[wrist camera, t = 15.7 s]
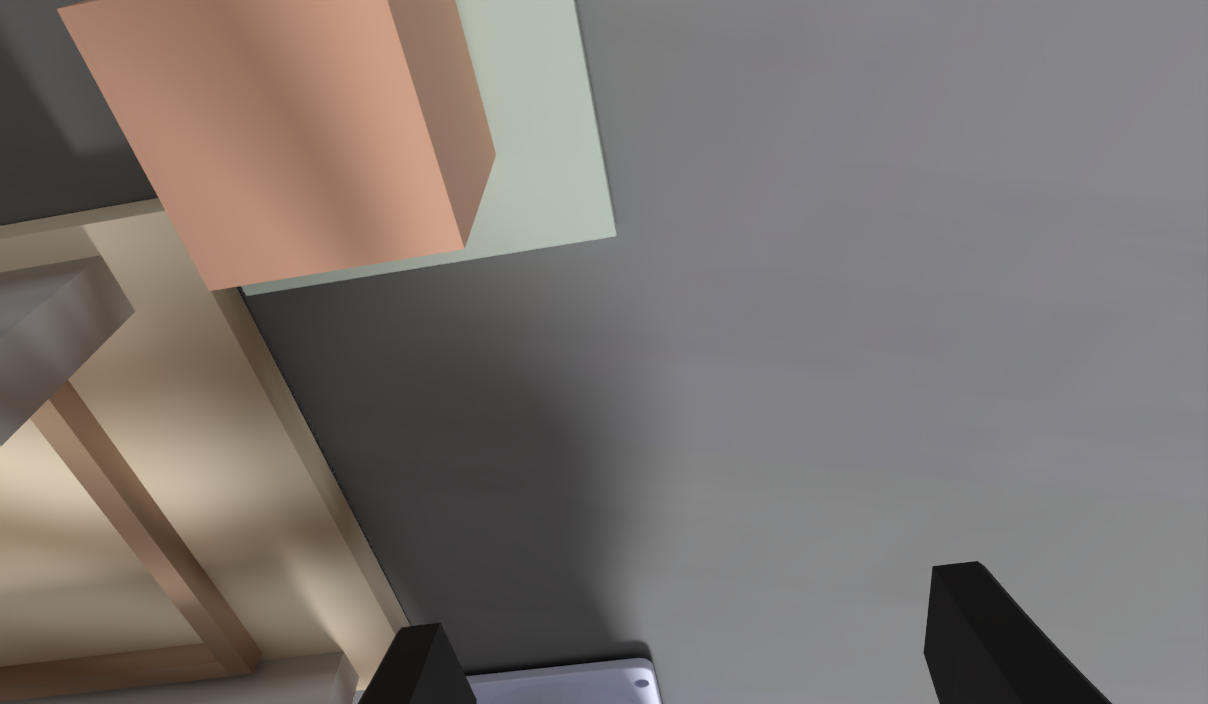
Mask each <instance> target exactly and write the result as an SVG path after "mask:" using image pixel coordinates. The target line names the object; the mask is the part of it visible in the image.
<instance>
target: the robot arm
mask: <svg viewBox="0 0 1208 704" xmlns="http://www.w3.org/2000/svg"><path fill="white" fill-rule="evenodd" d="M924 655H925V659H926V662H927V665H928V668H929V671H930V675H931V678H932V681H933V684H934V687H935V691H936V694H937V697H938V700H939V703H940V704H1112V703H1111V702H1110V701H1109V700H1108V699H1107V698H1106V697H1105V696H1104V695H1103V694H1102V693H1101V692H1100V691H1099V690H1098V689H1097V688H1096V687H1095V686H1094V685H1093V684H1092V683H1091V682H1090V681H1089V680H1088V679H1087V678H1086V677H1085V676H1084V675H1083V674H1082V673H1081V672H1080V671H1079V670H1078V669H1077V668H1076V667H1075V666H1074V665H1073V664H1072V663H1071V661H1070V660H1069V659H1068V658H1067V657H1066V656H1065V655H1064V654H1063V653H1062V652H1061V651H1060V650H1059V649H1058V648H1057V647H1056V646H1055V645H1054V643H1053V642H1052V641H1051V640H1050V639H1049V638H1048V637H1047V636H1046V635H1045V634H1044V633H1043V632H1042V630H1041V629H1040V628H1039V627H1038V626H1037V625H1036V624H1035V623H1034V622H1033V621H1032V620H1031V618H1030V617H1029V616H1028V615H1027V614H1026V613H1025V612H1024V611H1023V610H1022V608H1021V607H1020V606H1019V605H1018V604H1017V603H1016V602H1015V601H1014V599H1013V598H1012V597H1011V596H1010V595H1009V594H1008V593H1007V591H1006V590H1005V589H1004V588H1003V587H1002V586H1001V585H1000V583H999V582H998V581H997V580H996V579H995V578H994V577H993V575H992V574H991V573H990V572H989V571H988V569H987V568H986V567H985V566H984V565H982V564H981V563H979V562H978V561H974V562H966V563H957V564H948V565H940V566H933V568H932V578H931V588H930V597H929V607H928V617H927V626H926V636H925V646H924ZM358 704H662V701H661V697H660V693H659V689H658V684H657V680H656V676H655V671H654V667H653V664H652V663H651V662H650V661H649V660H647V659H644V658H632V659H623V660H614V661H605V662H595V663H586V664H577V665H567V666H558V667H549V668H539V669H530V670H521V671H512V672H502V673H493V674H484V675H474V676H465V674H464V672H463V670H462V667H461V665H460V663H459V661H458V659H457V657H456V655H455V653H454V651H453V649H452V646H451V644H450V642H449V640H448V638H447V636H446V634H445V632H444V630H443V628H442V625H441V623H435V624H426V625H418V626H409V627H401V629H400V630H399V631H398V632H397V633H396V635H395V637H394V639H393V641H392V643H391V644H390V646H389V648H388V650H387V652H386V654H385V656H384V657H383V659H382V661H381V663H380V665H379V666H378V668H377V670H376V672H375V674H374V676H373V677H372V679H371V681H370V683H369V685H368V686H367V688H366V690H365V692H364V694H363V695H362V697H361V699H360V701H359V703H358Z"/></svg>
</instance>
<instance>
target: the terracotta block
mask: <svg viewBox="0 0 1208 704" xmlns="http://www.w3.org/2000/svg"><path fill="white" fill-rule="evenodd" d="M57 11H58V13H59V15H60V16H61V18H62V20H63V22H64V24H65V26H66V28H67V29H68V31H69V33H70V35H71V37H72V39H73V40H74V42H75V44H76V46H77V48H78V50H79V52H80V53H81V55H82V57H83V59H84V61H85V63H86V65H87V66H88V68H89V70H90V72H91V74H92V76H93V78H94V79H95V81H96V83H97V85H98V87H99V89H100V90H101V92H102V94H103V96H104V98H105V100H106V102H107V103H108V105H109V107H110V109H111V111H112V113H113V115H114V116H115V118H116V120H117V122H118V124H119V126H120V127H121V129H122V131H123V133H124V135H125V137H126V139H127V140H128V142H129V144H130V146H131V148H132V150H133V152H134V153H135V155H136V157H137V159H138V161H139V163H140V164H141V166H142V168H143V170H144V172H145V174H146V176H147V177H148V179H149V181H150V183H151V185H152V187H153V189H154V190H155V192H156V194H157V196H158V198H159V200H160V202H161V203H162V205H163V207H164V209H165V211H166V213H167V214H168V216H169V218H170V220H171V222H172V224H173V226H174V227H175V229H176V231H177V233H178V235H179V237H180V239H181V240H182V242H183V244H184V246H185V248H186V250H187V251H188V253H189V255H190V257H191V259H192V261H193V263H194V264H195V266H196V268H197V270H198V272H199V274H200V276H201V277H202V279H203V281H204V283H205V285H206V287H207V289H208V290H209V291H213V290H219V289H225V288H231V287H237V286H243V285H250V284H256V283H262V282H268V281H274V280H280V279H286V278H292V277H298V276H304V275H310V274H316V273H323V272H329V271H335V270H341V269H347V268H353V267H359V266H365V265H371V264H377V263H383V262H389V261H395V260H402V259H408V258H414V257H420V256H426V255H432V254H438V253H444V252H450V251H456V250H462V249H465V246H466V243H467V240H468V238H469V235H470V232H471V229H472V226H473V223H474V220H475V217H476V214H477V211H478V208H479V205H480V202H481V199H482V196H483V193H484V190H485V187H486V184H487V181H488V178H489V175H490V172H491V169H492V166H493V163H494V160H495V158H496V152H495V148H494V144H493V141H492V137H491V133H490V129H489V126H488V122H487V118H486V114H485V110H484V107H483V103H482V99H481V95H480V91H479V88H478V84H477V80H476V76H475V73H474V69H473V65H472V61H471V57H470V54H469V50H468V46H467V42H466V38H465V35H464V31H463V27H462V23H461V20H460V16H459V12H458V8H457V4H456V1H455V0H85V1H81V2H78V3H75V4H72V5H68V6H65V7H62V8H58V9H57Z"/></svg>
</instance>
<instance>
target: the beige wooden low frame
mask: <svg viewBox="0 0 1208 704" xmlns="http://www.w3.org/2000/svg"><path fill="white" fill-rule="evenodd" d="M409 626H410V624H409V622H408V620H407V618H406V616H405V614H404V612H403V610H402V608H401V606H400V604H399V602H398V600H397V598H396V596H395V595H394V593H393V591H392V589H391V587H390V585H389V583H388V581H387V579H386V577H385V575H384V573H383V571H382V569H381V567H380V565H379V563H378V561H377V559H376V558H375V556H374V554H373V552H372V550H371V548H370V546H369V544H368V542H367V540H366V538H365V536H364V534H363V532H362V530H361V528H360V526H359V524H358V522H357V521H356V519H355V517H354V515H353V513H352V511H351V509H350V507H349V505H348V503H347V501H346V499H345V497H344V495H343V493H342V491H341V489H340V487H339V485H338V484H337V482H336V480H335V478H334V476H333V474H332V472H331V470H330V468H329V466H328V464H327V462H326V460H325V458H324V456H323V454H322V452H321V450H320V448H319V447H318V445H317V443H316V441H315V439H314V437H313V435H312V433H311V431H310V429H309V427H308V425H307V423H306V421H305V419H304V417H303V415H302V413H301V411H300V410H299V408H298V406H297V404H296V402H295V400H294V398H293V396H292V394H291V392H290V390H289V388H288V386H287V384H286V382H285V380H284V378H283V376H282V374H281V373H280V371H279V369H278V367H277V365H276V363H275V361H274V359H273V357H272V355H271V353H270V351H269V349H268V347H267V345H266V343H265V341H264V339H263V337H262V336H261V334H260V332H259V330H258V328H257V326H256V324H255V322H254V320H253V318H252V316H251V314H250V312H249V310H248V308H247V306H246V304H245V302H244V301H243V299H242V297H241V295H240V293H239V291H238V289H237V287H231V288H225V289H219V290H213V291H209V290H208V289H207V287H206V285H205V283H204V281H203V279H202V277H201V276H200V274H199V272H198V270H197V268H196V266H195V264H194V263H193V261H192V259H191V257H190V255H189V253H188V251H187V250H186V248H185V246H184V244H183V242H182V240H181V239H180V237H179V235H178V233H177V231H176V229H175V227H174V226H173V224H172V222H171V220H170V218H169V216H168V214H167V213H166V211H165V209H164V207H163V205H162V203H161V202H160V200H159V198H155V199H149V200H143V201H138V202H132V203H126V204H121V205H115V206H109V207H104V208H98V209H93V210H87V211H81V212H76V213H70V214H64V215H59V216H53V217H47V218H42V219H36V220H31V221H25V222H19V223H14V224H8V225H2V226H0V704H352V701H353V698H354V694H355V691H357V690H366V688H367V686H368V685H369V683H370V681H371V679H372V677H373V676H374V674H375V672H376V670H377V668H378V666H379V665H380V663H381V661H382V659H383V657H384V656H385V654H386V652H387V650H388V648H389V646H390V644H391V643H392V641H393V639H394V637H395V635H396V633H397V632H398V631H399V630H400V629H401V627H409Z"/></svg>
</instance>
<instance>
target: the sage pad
mask: <svg viewBox="0 0 1208 704" xmlns="http://www.w3.org/2000/svg"><path fill="white" fill-rule="evenodd" d="M455 1H456V4H457V8H458V12H459V16H460V20H461V23H462V27H463V31H464V35H465V38H466V42H467V46H468V50H469V54H470V57H471V61H472V65H473V69H474V73H475V76H476V80H477V84H478V88H479V91H480V95H481V99H482V103H483V107H484V110H485V114H486V118H487V122H488V126H489V129H490V133H491V137H492V141H493V144H494V148H495V152H496V158H495V160H494V163H493V166H492V169H491V172H490V175H489V178H488V181H487V184H486V187H485V190H484V193H483V196H482V199H481V202H480V205H479V208H478V211H477V214H476V217H475V220H474V223H473V226H472V229H471V232H470V235H469V238H468V240H467V243H466V246H465V249H462V250H456V251H450V252H444V253H438V254H432V255H426V256H420V257H414V258H408V259H402V260H395V261H389V262H383V263H377V264H371V265H365V266H359V267H353V268H347V269H341V270H335V271H329V272H323V273H316V274H310V275H304V276H298V277H292V278H286V279H280V280H274V281H268V282H262V283H256V284H250V285H243V286H241V287H242V289H243V291H244V293H245V295H246V296H249V295H256V294H262V293H268V292H274V291H280V290H286V289H293V288H299V287H305V286H311V285H317V284H324V283H330V282H336V281H342V280H348V279H354V278H361V277H367V276H373V275H379V274H385V273H391V272H398V271H404V270H410V269H416V268H422V267H428V266H435V265H441V264H447V263H453V262H459V261H466V260H472V259H478V258H484V257H490V256H496V255H503V254H509V253H515V252H521V251H527V250H533V249H540V248H546V247H552V246H558V245H564V244H570V243H577V242H583V241H589V240H595V239H601V238H608V237H614V236H617V234H616V221H615V216H614V210H613V205H612V199H611V194H610V188H609V183H608V177H607V172H606V166H605V161H604V155H603V149H602V144H601V138H600V133H599V127H598V122H597V116H596V111H595V105H594V100H593V94H592V89H591V83H590V78H589V72H588V67H587V61H586V56H585V50H584V45H583V39H582V34H581V28H580V22H579V17H578V11H577V6H576V0H455Z"/></svg>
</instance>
